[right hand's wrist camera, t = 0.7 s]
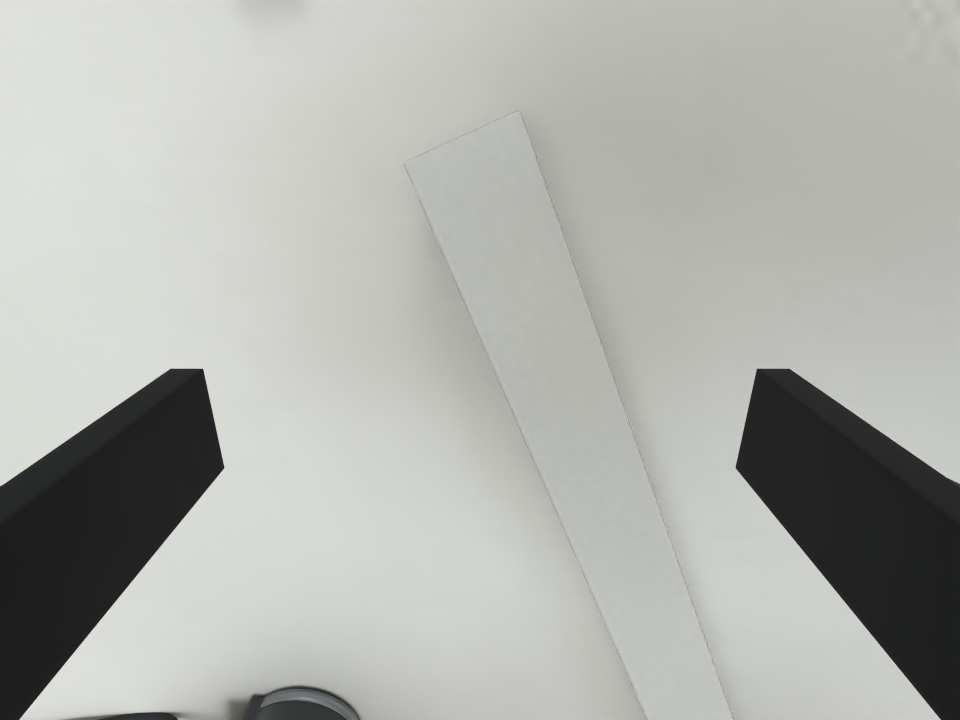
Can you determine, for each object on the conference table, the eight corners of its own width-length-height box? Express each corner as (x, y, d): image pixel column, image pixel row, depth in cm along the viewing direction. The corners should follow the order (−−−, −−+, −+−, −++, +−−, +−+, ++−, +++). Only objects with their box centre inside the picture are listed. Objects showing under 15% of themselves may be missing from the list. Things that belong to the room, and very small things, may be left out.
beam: (423, 161, 28) (402, 162, 21) (511, 121, 27) (519, 109, 20) (694, 798, 47) (730, 908, 40) (749, 785, 46) (795, 896, 39)
